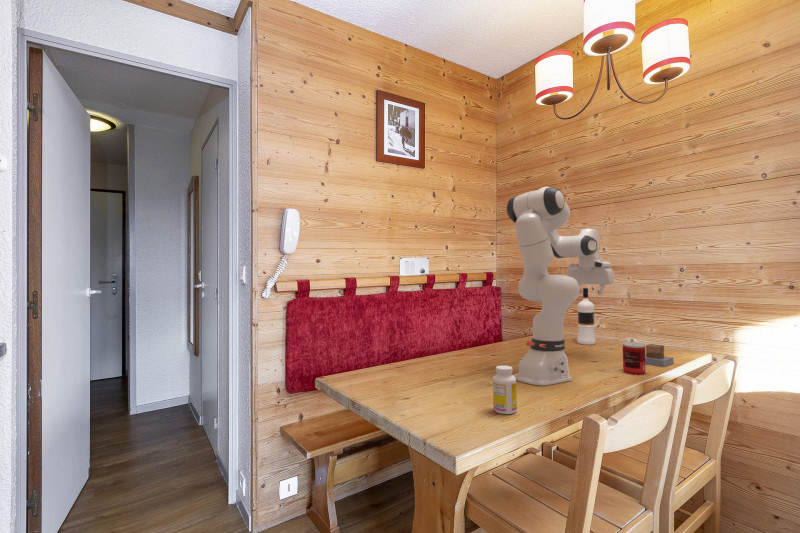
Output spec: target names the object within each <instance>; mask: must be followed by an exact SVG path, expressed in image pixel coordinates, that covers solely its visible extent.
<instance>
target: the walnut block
mask: <svg viewBox="0 0 800 533" xmlns="http://www.w3.org/2000/svg"><path fill="white" fill-rule="evenodd" d="M645 354H646V357H649V358H656V359H661V358H664V356H665V345H661V344H654V343H650V344H647V345H645Z"/></svg>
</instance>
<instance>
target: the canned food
mask: <svg viewBox="0 0 800 533" xmlns="http://www.w3.org/2000/svg"><path fill="white" fill-rule="evenodd" d="M645 354H646V345H645V344H643V343H639V342H632V341H631V342H623V343H622V369H623V372H624V373H626V374H630V375H635V374H636V375H639V376H640V374H642V375H645V373H646V364H645Z"/></svg>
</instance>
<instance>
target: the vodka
mask: <svg viewBox="0 0 800 533" xmlns="http://www.w3.org/2000/svg"><path fill="white" fill-rule="evenodd" d="M582 298H583V299H582V300H581V301H580V302H578V303H577V306H576V307H577V338H576V342H577V344H579V345H584V346H592V345H593V346H594V345H595V344H597V339H596V334H595V327H596V325H595V304H594V303H593V302H592V301H590V300H589V288H587V287H582Z"/></svg>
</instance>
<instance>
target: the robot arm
mask: <svg viewBox="0 0 800 533" xmlns="http://www.w3.org/2000/svg"><path fill="white" fill-rule="evenodd" d="M570 208H571V207H570V206H569V205H568V203H567V202H566V201H565V196H564V193H563V192H562V190H561V189H559V188H557V187H550V186H543V187H540V188H539V189H537V190H530V191H527V192H525V193H522V194H519V195H515V196H513V197H511V198H510V199H508V201H507V204H506V213H507V216H508V218H509V219H510V220H511V221H512V222H513V223H514V224H515V233H516V239H517V242H518V247H519V249H520V250H519V251H520V254H521V258H522V262H523V275H522V278H520V279H519V282H518V284H517V285H518V286H517V290H518V291H517V292H518V294H519V295H520V297H522V299H525V300H527V301H530V302H533V303H535V302H536V303H542V307H541V308H540V312H539V313H537V314H536V315H534V317H533V318H532V338H531V340H526V342H525V345H526V346H527V347H529V348H530V349H529V350H528V351H527V352H526V354H525V355H524V356H523V358H522V359H521V360H520V361H519V363H518V372H516V373H514V374H512V375H513V376H514V377H515V378H516V381H518V382H521V383H525V384H529V385H533V386H541V387H543V386H549V385H550V386H551V385H554V384H560V383H566V382H570V381H571V382H572V381H573V377H572V376H570V367H569V360H568V356H567V354H566V352H565V349H566V341H565V339H564V329H565V328H564V324H565V323H564V322H565V318H566V317H565V316H566V313H567V311H568V310H569V307H571V305H572V304H573V303H575V301H576V300H577V299H578V298H579V295H580V294H583V289H582V288H581V287H580V286H581V285H599V287H600V288H599V290H597V291H596V292H597V293H596V294H597V295H603V291H604V290H605V288H606V285H613V283H614V273H613V269H612V263H611V262H608V261H605V260H602V259H601V257H600V249H601V248H600V246H601V245H600V236H599V231H598V230H597V229H596V228H593V227H592V228H590V227H585V228H581V229H580V230H579V232H578V234H577V235H568V236H567V235H566V236H564V235H559V234H558V233H559V232H558V231H557V230H558V229H560V228H563V227H564V226H565V225H566V224H567V223H568V221H569V220H570V217H571V209H570ZM554 257H555V258H557V259H563V258H565V259H566V258H578V263H575V264H574V263H571V264H570V265H568V267H567V275H564V274H550V273H549V272H548V271H549V270H548V265H550V263H552V261H553V260H554Z"/></svg>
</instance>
